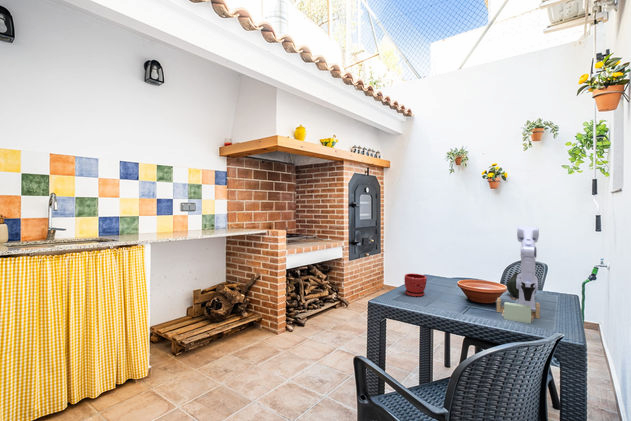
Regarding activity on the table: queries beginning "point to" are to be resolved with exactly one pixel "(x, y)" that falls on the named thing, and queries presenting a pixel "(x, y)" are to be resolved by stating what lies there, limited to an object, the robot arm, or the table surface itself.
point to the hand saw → (513, 299)
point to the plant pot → (415, 284)
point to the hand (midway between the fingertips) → (527, 298)
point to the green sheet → (517, 312)
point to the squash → (513, 285)
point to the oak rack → (533, 313)
